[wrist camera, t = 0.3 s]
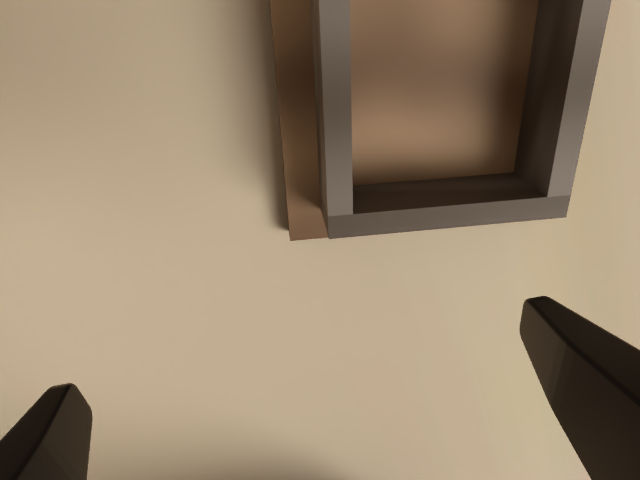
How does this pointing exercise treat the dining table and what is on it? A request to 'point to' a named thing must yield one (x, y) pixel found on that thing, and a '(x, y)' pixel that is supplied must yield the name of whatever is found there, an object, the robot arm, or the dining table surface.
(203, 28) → the dining table surface
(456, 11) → the socket block
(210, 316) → the dining table surface
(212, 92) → the dining table surface
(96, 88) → the dining table surface
